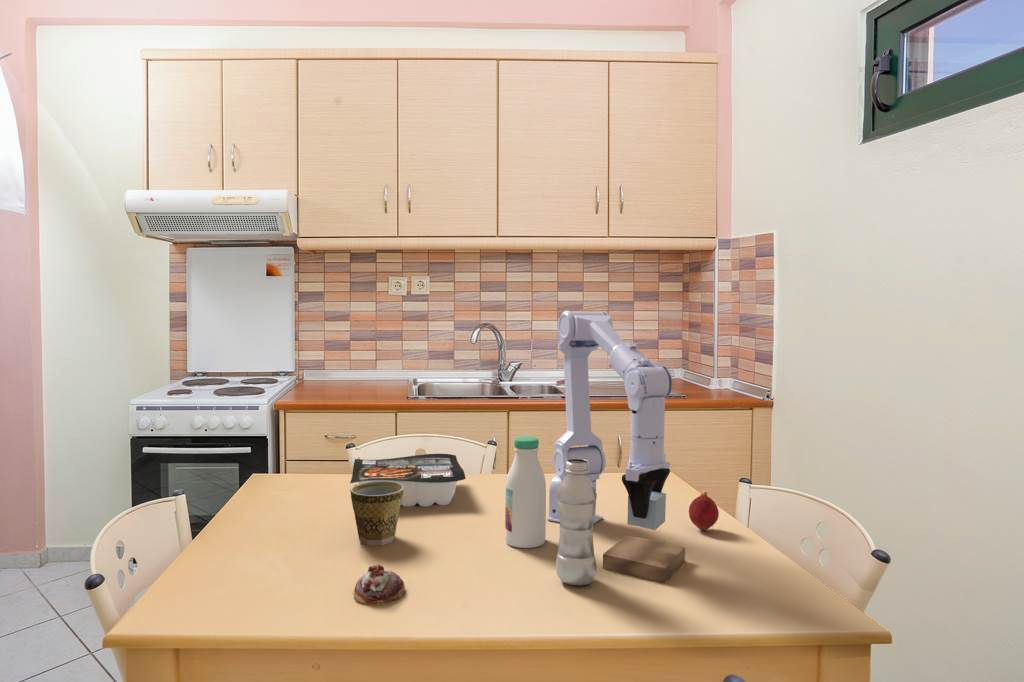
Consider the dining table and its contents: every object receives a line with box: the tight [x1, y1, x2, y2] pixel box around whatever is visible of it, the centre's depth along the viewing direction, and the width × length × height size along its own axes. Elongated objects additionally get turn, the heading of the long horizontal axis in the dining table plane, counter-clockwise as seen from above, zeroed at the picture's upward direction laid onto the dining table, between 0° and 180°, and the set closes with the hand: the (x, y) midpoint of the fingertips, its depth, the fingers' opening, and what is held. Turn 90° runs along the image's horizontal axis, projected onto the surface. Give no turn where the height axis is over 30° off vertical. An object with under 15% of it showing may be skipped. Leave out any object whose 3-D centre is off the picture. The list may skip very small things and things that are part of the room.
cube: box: [626, 491, 667, 531], centre depth 113 cm, size 5×5×5 cm
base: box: [602, 534, 686, 584], centre depth 113 cm, size 11×11×2 cm
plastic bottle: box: [555, 459, 598, 586], centre depth 105 cm, size 6×7×20 cm
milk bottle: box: [504, 436, 547, 549], centre depth 123 cm, size 8×8×20 cm
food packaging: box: [349, 453, 466, 508], centre depth 153 cm, size 25×8×23 cm
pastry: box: [352, 564, 406, 605], centre depth 101 cm, size 8×8×5 cm
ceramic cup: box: [349, 481, 404, 546], centre depth 125 cm, size 13×10×10 cm
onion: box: [688, 490, 720, 532], centre depth 131 cm, size 6×6×8 cm
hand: (645, 512), depth 113 cm, fingers closed on cube, 5 cm apart
